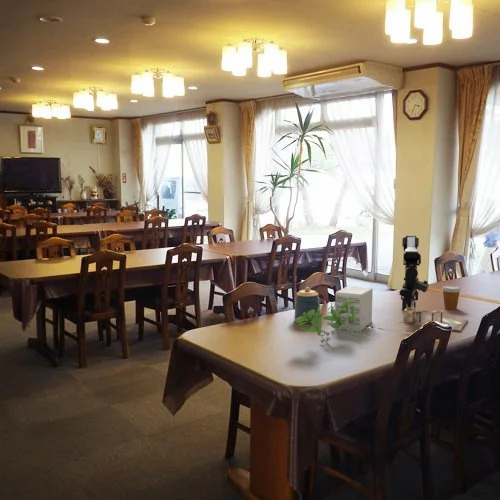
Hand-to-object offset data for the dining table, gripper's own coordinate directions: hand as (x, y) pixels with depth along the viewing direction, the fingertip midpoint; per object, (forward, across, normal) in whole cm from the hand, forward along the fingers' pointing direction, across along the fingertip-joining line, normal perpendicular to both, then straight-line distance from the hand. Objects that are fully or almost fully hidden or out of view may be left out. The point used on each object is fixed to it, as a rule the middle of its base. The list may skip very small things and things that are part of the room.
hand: (410, 306), depth 269 cm
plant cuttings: (+8, -55, +18) cm, 59 cm away
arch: (+7, 0, 0) cm, 7 cm away
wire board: (+8, +4, -10) cm, 13 cm away
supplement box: (+8, -20, +22) cm, 31 cm away
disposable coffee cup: (+8, +41, -12) cm, 43 cm away
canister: (+8, -22, +46) cm, 52 cm away
